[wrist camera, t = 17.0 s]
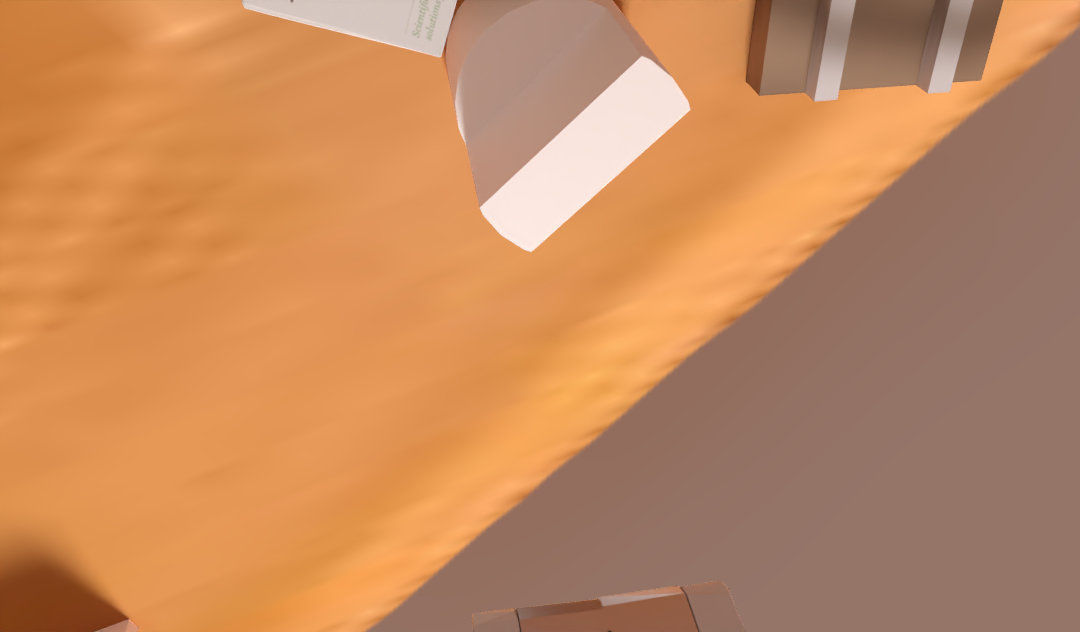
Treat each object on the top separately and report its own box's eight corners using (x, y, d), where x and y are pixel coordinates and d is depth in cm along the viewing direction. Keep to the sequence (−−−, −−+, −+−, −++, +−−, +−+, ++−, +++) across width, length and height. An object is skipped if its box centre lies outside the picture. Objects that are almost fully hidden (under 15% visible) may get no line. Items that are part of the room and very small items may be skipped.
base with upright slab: (541, -83, 41) (594, -10, 32) (661, 53, 46) (740, 154, 36) (406, 58, 44) (417, 165, 34) (532, 173, 49) (574, 296, 39)
